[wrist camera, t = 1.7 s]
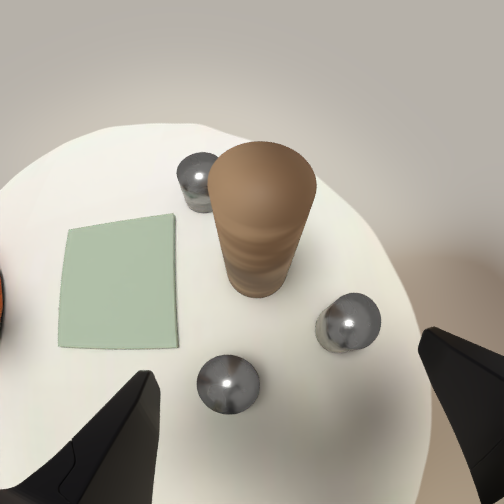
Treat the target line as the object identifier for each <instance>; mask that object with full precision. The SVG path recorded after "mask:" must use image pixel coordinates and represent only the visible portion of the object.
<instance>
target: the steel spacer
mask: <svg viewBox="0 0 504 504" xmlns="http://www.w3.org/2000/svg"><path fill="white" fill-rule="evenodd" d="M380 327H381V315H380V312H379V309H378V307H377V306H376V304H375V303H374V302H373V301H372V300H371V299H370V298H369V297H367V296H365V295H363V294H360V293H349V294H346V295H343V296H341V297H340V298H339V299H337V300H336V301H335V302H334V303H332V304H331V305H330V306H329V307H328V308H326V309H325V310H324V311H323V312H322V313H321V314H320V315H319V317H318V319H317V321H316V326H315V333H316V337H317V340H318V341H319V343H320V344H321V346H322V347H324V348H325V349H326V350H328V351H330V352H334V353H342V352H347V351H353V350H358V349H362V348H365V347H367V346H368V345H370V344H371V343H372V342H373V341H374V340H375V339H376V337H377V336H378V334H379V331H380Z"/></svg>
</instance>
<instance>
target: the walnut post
mask: <svg viewBox="0 0 504 504" xmlns="http://www.w3.org/2000/svg"><path fill="white" fill-rule="evenodd" d="M207 185H208V192H209V196H210V201H211V206H212V210H213V215H214V219H215V223H216V228H217V232H218V237H219V241H220V245H221V250H222V254H223V258H224V262H225V266H226V271H227V275H228V278H229V281H230V283H231V284H232V286H233V287H234V288H235V289H236V290H237V291H238V292H239V293H241V294H243V295H245V296H247V297H251V298H263V297H267V296H269V295H271V294H273V293H275V292H276V291H277V290H278V289H279V288H280V287H281V286H282V284H283V283H284V280H285V278H286V275H287V273H288V270H289V267H290V265H291V262H292V259H293V257H294V254H295V251H296V248H297V246H298V243H299V240H300V238H301V235H302V232H303V229H304V226H305V224H306V221H307V218H308V215H309V212H310V209H311V206H312V204H313V201H314V198H315V194H316V188H317V184H316V177H315V174H314V172H313V170H312V168H311V166H310V165H309V163H308V162H307V161H306V160H305V159H304V158H303V157H302V156H301V155H300V154H299V153H297V152H296V151H294V150H292V149H290V148H288V147H286V146H283V145H281V144H277V143H272V142H262V141H261V142H260V141H258V142H248V143H244V144H240V145H237V146H235V147H233V148H231V149H229V150H227V151H226V152H224V153H223V154H222V155H221V156H220V157H219V158H218V159H217V160H216V161H215V162H214V164H213V165H212V167H211V169H210V172H209V175H208V183H207Z"/></svg>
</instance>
